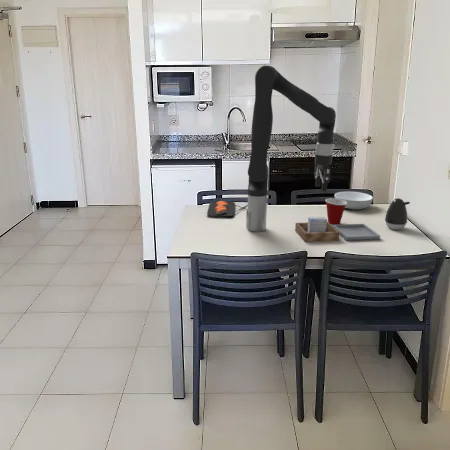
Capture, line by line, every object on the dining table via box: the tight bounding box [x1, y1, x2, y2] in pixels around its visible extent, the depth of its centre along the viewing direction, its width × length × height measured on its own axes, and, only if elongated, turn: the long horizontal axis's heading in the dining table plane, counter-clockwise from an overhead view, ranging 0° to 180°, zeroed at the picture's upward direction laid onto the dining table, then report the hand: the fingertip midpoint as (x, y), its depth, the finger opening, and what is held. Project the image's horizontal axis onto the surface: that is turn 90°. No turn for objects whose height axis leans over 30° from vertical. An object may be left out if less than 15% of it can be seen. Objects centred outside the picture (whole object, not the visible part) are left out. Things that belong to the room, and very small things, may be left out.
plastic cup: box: [325, 197, 347, 226], centre depth 233 cm, size 11×11×12 cm
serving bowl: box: [334, 191, 374, 210], centre depth 263 cm, size 21×21×7 cm
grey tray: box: [332, 223, 381, 242], centre depth 219 cm, size 16×18×2 cm
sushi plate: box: [206, 200, 248, 218], centre depth 255 cm, size 29×30×4 cm
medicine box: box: [306, 216, 328, 233], centre depth 215 cm, size 8×4×9 cm, turn 92°
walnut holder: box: [294, 221, 340, 243], centre depth 216 cm, size 16×16×4 cm
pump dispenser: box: [384, 197, 411, 231], centre depth 225 cm, size 10×10×15 cm
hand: (320, 188), depth 211 cm, fingers open, 8 cm apart
